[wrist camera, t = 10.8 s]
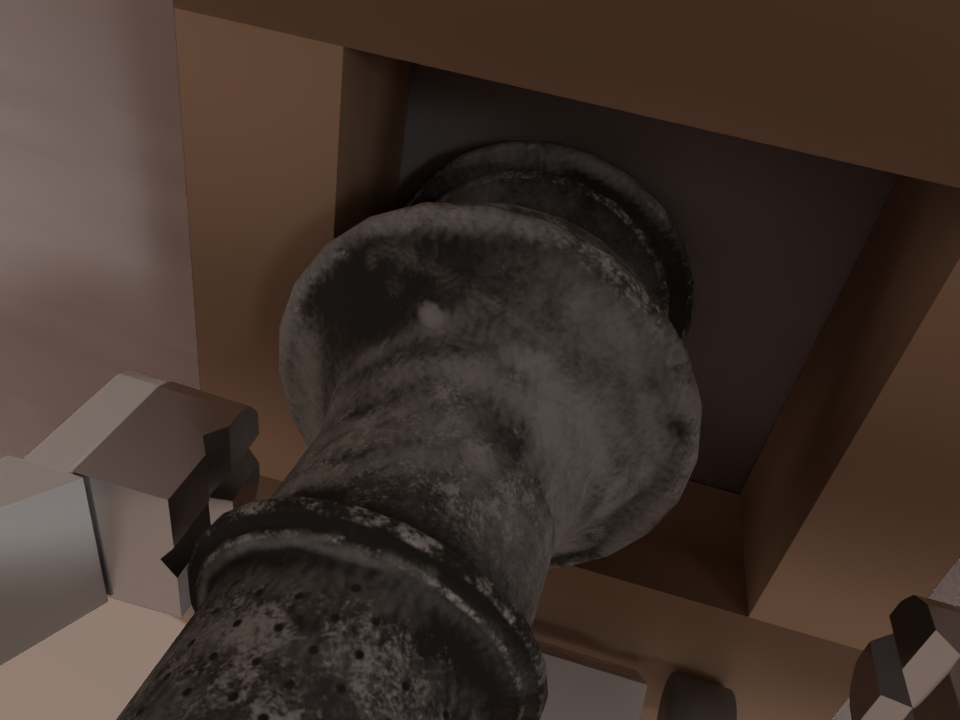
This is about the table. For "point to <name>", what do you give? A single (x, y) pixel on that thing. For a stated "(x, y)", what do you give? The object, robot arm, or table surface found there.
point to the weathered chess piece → (448, 449)
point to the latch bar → (590, 687)
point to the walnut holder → (679, 99)
